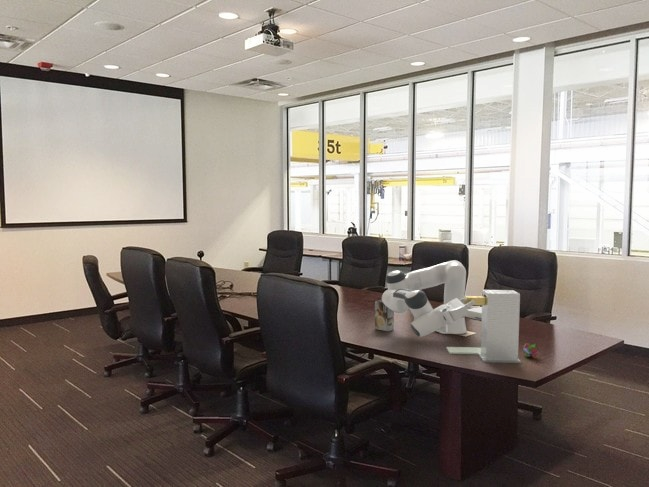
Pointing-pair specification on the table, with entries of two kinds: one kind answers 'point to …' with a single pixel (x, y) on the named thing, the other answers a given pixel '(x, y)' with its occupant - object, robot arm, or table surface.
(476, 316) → the disc drive
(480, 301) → the brass bar
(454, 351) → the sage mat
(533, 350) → the geometric puzzle
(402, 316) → the table surface
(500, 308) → the rack post
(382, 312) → the coffee box
